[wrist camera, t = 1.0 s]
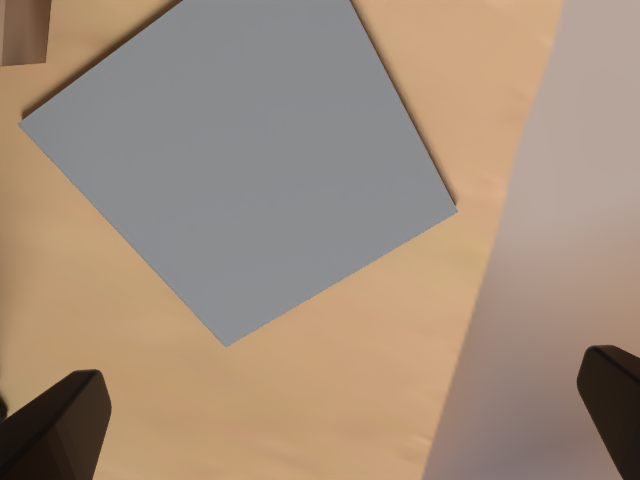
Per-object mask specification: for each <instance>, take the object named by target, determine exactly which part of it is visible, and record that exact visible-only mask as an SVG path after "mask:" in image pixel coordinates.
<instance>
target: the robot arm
mask: <svg viewBox="0 0 640 480" xmlns="http://www.w3.org/2000/svg"><path fill="white" fill-rule="evenodd" d="M577 388H578V391H579V394H580V396H581V398H582V400H583V402H584V404H585V406H586V408H587V410H588V412H589V414H590V416H591V418H592V420H593V422H594V424H595V426H596V428H597V430H598V432H599V434H600V436H601V438H602V440H603V442H604V444H605V446H606V448H607V450H608V452H609V454H610V456H611V458H612V460H613V462H614V464H615V466H616V468H617V470H618V471H619V473H620V475H621V476H622V478H623V480H640V358H639V357H636V356H634V355H632V354H630V353H628V352H626V351H624V350H622V349H620V348H618V347H616V346H613V345H594V346H590V347H589V348H588V349H587V350H586V351H585V354H584V357H583V360H582V364H581V367H580V370H579V373H578V377H577ZM111 408H112V407H111V400H110V397H109V394H108V391H107V387H106V384H105V381H104V377H103V375H102V373H101V372H100V371H99V370H96V369H90V370H77V371H74V372H72V373H70V374H69V375H68V376H66V377H65V378H63V379H62V380H61V381H59V382H58V383H56V384H55V385H53V386H52V387H51V388H49V389H48V390H46V391H45V392H44V393H42V394H41V395H39V396H38V397H36V398H35V399H34V400H32V401H31V402H29V403H28V404H27V405H25V406H24V407H22V408H21V409H19V410H18V411H17V412H15V413H14V414H12V415H11V416H10V417H8V418H7V413H6V412H5V410H4V409H3V407H2V406H1V404H0V480H92V479H93V475H94V472H95V469H96V465H97V462H98V458H99V455H100V451H101V448H102V444H103V441H104V437H105V434H106V430H107V427H108V423H109V420H110V416H111Z"/></svg>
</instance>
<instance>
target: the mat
mask: <svg viewBox="0 0 640 480" xmlns="http://www.w3.org/2000/svg"><path fill="white" fill-rule="evenodd" d="M18 125H19V126H20V127H21V128H22V129H23V131H24V132H25V133H26V134H27V135H28V136H29V137H30V138H31V139H32V140H33V141H34V142H35V143H36V144H37V146H38V147H39V148H40V149H41V150H42V151H43V152H44V153H45V154H46V155H47V156H48V157H49V158H50V159H51V161H52V162H53V163H54V164H55V165H56V166H57V167H58V168H59V169H60V170H61V171H62V172H63V173H64V175H65V176H66V177H67V178H68V179H69V180H70V181H71V182H72V183H73V184H74V185H75V186H76V187H77V188H78V190H79V191H80V192H81V193H82V194H83V195H84V196H85V197H86V198H87V199H88V200H89V201H90V202H91V203H92V205H93V206H94V207H95V208H96V209H97V210H98V211H99V212H100V213H101V214H102V215H103V216H104V217H105V218H106V220H107V221H108V222H109V223H110V224H111V225H112V226H113V227H114V228H115V229H116V230H117V231H118V232H119V234H120V235H121V236H122V237H123V238H124V239H125V240H126V241H127V242H128V243H129V244H130V245H131V246H132V247H133V249H134V250H135V251H136V252H137V253H138V254H139V255H140V256H141V257H142V258H143V259H144V260H145V261H146V262H147V264H148V265H149V266H150V267H151V268H152V269H153V270H154V271H155V272H156V273H157V274H158V275H159V276H160V277H161V279H162V280H163V281H164V282H165V283H166V284H167V285H168V286H169V287H170V288H171V289H172V290H173V291H174V292H175V294H176V295H177V296H178V297H179V298H180V299H181V300H182V301H183V302H184V303H185V304H186V305H187V306H188V308H189V309H190V310H191V311H192V312H193V313H194V314H195V315H196V316H197V317H198V318H199V319H200V320H201V321H202V323H203V324H204V325H205V326H206V327H207V328H208V329H209V330H210V331H211V332H212V333H213V334H214V335H215V336H216V338H217V339H218V340H219V341H220V342H221V343H222V344H223V345H224V346H225V347H227V346H229V345H231V344H233V343H234V342H236V341H238V340H239V339H241V338H243V337H245V336H246V335H248V334H250V333H251V332H253V331H255V330H257V329H258V328H260V327H262V326H263V325H265V324H267V323H269V322H270V321H272V320H274V319H275V318H277V317H279V316H281V315H282V314H284V313H286V312H287V311H289V310H291V309H293V308H294V307H296V306H298V305H299V304H301V303H303V302H305V301H306V300H308V299H310V298H311V297H313V296H315V295H317V294H318V293H320V292H322V291H323V290H325V289H327V288H329V287H330V286H332V285H334V284H335V283H337V282H339V281H341V280H342V279H344V278H346V277H347V276H349V275H351V274H353V273H354V272H356V271H358V270H359V269H361V268H363V267H365V266H366V265H368V264H370V263H371V262H373V261H375V260H377V259H378V258H380V257H382V256H383V255H385V254H387V253H389V252H390V251H392V250H394V249H395V248H397V247H399V246H401V245H402V244H404V243H406V242H407V241H409V240H411V239H413V238H414V237H416V236H418V235H419V234H421V233H423V232H425V231H426V230H428V229H430V228H431V227H433V226H435V225H437V224H438V223H440V222H442V221H443V220H445V219H447V218H449V217H450V216H452V215H454V214H455V213H457V212H458V211H457V209H456V207H455V205H454V203H453V201H452V199H451V197H450V195H449V193H448V191H447V189H446V187H445V185H444V183H443V181H442V180H441V178H440V176H439V174H438V172H437V170H436V168H435V166H434V164H433V162H432V160H431V158H430V156H429V154H428V152H427V150H426V148H425V146H424V144H423V143H422V141H421V139H420V137H419V135H418V133H417V131H416V129H415V127H414V125H413V123H412V121H411V119H410V117H409V115H408V113H407V111H406V109H405V107H404V106H403V104H402V102H401V100H400V98H399V96H398V94H397V92H396V90H395V88H394V86H393V84H392V82H391V80H390V78H389V76H388V74H387V72H386V70H385V69H384V67H383V65H382V63H381V61H380V59H379V57H378V55H377V53H376V51H375V49H374V47H373V45H372V43H371V41H370V39H369V37H368V35H367V33H366V32H365V30H364V28H363V26H362V24H361V22H360V20H359V18H358V16H357V14H356V12H355V10H354V8H353V6H352V4H351V2H350V0H183V1H181V2H180V3H179V4H177V5H176V6H175V7H173V8H172V9H171V10H169V11H168V12H167V13H165V14H164V15H163V16H161V17H160V18H159V19H157V20H156V21H155V22H153V23H152V24H151V25H149V26H148V27H147V28H145V29H144V30H143V31H141V32H140V33H139V34H137V35H136V36H134V37H133V38H132V39H130V40H129V41H128V42H126V43H125V44H124V45H122V46H121V47H120V48H118V49H117V50H116V51H114V52H113V53H112V54H110V55H109V56H108V57H106V58H105V59H104V60H102V61H101V62H100V63H98V64H97V65H96V66H94V67H93V68H92V69H90V70H89V71H88V72H86V73H85V74H84V75H82V76H81V77H80V78H78V79H77V80H76V81H74V82H73V83H72V84H70V85H69V86H67V87H66V88H65V89H63V90H62V91H61V92H59V93H58V94H57V95H55V96H54V97H53V98H51V99H50V100H49V101H47V102H46V103H45V104H43V105H42V106H41V107H39V108H38V109H37V110H35V111H34V112H33V113H31V114H30V115H29V116H27V117H26V118H25V119H23V120H22V121H21V122H19V123H18Z"/></svg>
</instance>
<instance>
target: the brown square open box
mask: <svg viewBox="0 0 640 480" xmlns="http://www.w3.org/2000/svg"><path fill="white" fill-rule="evenodd" d="M50 7H51V0H0V66H11V65H24V64H37V63H45V62H46V51H47V40H48V29H49V18H50Z"/></svg>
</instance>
